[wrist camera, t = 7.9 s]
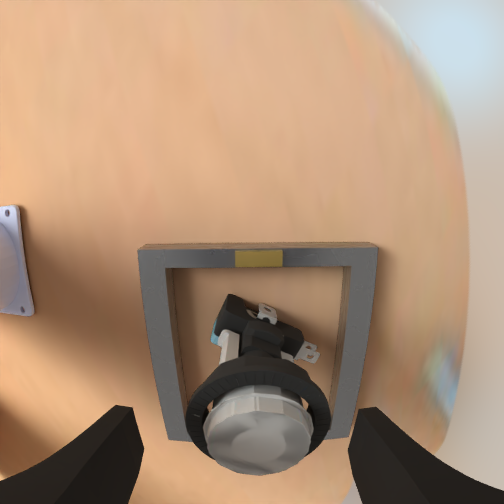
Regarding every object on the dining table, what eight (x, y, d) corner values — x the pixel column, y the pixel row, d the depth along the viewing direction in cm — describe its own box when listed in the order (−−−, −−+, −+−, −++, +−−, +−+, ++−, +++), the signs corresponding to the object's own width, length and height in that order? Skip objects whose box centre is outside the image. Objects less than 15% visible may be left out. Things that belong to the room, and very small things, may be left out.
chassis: (172, 426, 21) (167, 442, 19) (145, 244, 18) (135, 251, 16) (344, 424, 21) (349, 439, 19) (368, 242, 18) (380, 248, 16)
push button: (333, 312, 19) (394, 421, 9) (292, 378, 20) (315, 500, 10) (233, 268, 18) (215, 364, 9) (198, 342, 19) (163, 462, 10)
